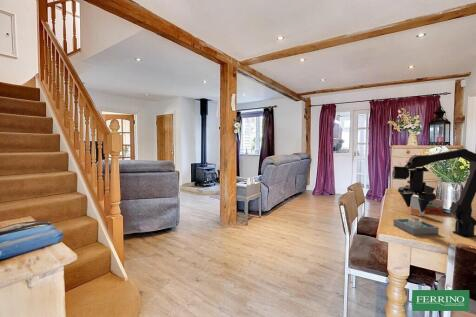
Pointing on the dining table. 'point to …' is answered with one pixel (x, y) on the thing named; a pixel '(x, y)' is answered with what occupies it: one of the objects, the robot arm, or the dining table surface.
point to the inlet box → (420, 230)
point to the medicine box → (434, 206)
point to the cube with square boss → (414, 222)
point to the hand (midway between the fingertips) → (415, 209)
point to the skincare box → (415, 206)
